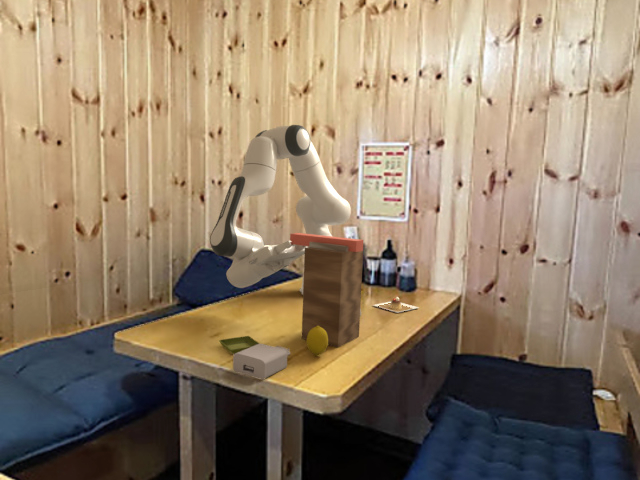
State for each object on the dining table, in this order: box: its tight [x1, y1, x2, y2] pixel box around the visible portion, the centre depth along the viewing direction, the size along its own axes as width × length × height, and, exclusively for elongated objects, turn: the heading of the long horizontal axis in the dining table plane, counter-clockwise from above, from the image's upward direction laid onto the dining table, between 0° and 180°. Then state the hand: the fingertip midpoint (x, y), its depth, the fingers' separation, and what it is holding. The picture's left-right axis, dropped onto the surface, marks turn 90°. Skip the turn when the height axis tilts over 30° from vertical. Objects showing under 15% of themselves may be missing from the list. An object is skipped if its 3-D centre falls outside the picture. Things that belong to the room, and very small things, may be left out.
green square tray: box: [218, 335, 261, 355], centre depth 131 cm, size 9×9×2 cm
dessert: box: [372, 296, 420, 314], centre depth 180 cm, size 12×12×5 cm
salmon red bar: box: [289, 232, 364, 252], centre depth 141 cm, size 4×22×3 cm, turn 57°
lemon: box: [306, 326, 329, 357], centre depth 127 cm, size 6×6×8 cm
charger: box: [232, 343, 291, 381], centre depth 119 cm, size 5×9×15 cm
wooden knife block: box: [301, 242, 364, 348], centre depth 141 cm, size 12×12×28 cm
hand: (300, 241), depth 146 cm, fingers open, 8 cm apart
